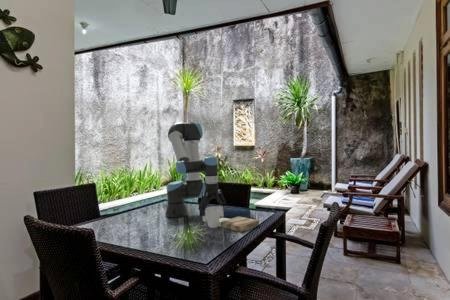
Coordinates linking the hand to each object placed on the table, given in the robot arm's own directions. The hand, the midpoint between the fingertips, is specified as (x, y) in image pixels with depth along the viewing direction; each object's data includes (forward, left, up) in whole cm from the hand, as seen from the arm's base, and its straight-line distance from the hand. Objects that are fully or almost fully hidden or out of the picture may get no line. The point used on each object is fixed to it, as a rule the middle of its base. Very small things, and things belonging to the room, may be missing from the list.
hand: (213, 219), depth 177 cm
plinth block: (+12, +10, -5) cm, 16 cm away
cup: (0, 0, -5) cm, 5 cm away
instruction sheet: (-3, +14, -5) cm, 15 cm away
